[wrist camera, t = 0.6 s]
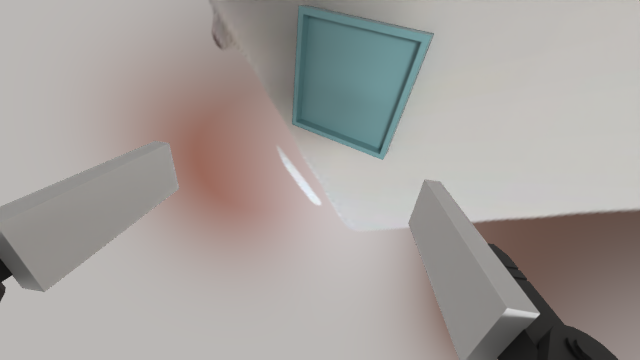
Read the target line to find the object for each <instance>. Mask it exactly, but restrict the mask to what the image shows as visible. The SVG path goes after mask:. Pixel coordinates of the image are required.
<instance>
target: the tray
mask: <svg viewBox="0 0 640 360" xmlns="http://www.w3.org/2000/svg"><path fill="white" fill-rule="evenodd" d="M433 35H434V33H429V32H425V31H420V30H416V29H411V28H407V27H402V26H398V25H393V24H389V23H384V22H380V21H375V20H371V19H366V18H362V17H357V16H353V15H348V14H344V13H339V12H335V11H330V10H326V9H321V8H317V7H312V6H299V10H298V28H297V46H296V64H295V82H294V101H293V119H292V124H293V125H295V126H298V127H301V128H303V129H306V130H308V131H311V132H313V133H316V134H318V135H321V136H323V137H326V138H329V139H331V140H334V141H336V142H339V143H341V144H344V145H346V146H349V147H351V148H354V149H357V150H359V151H362V152H364V153H367V154H369V155H372V156H374V157H377V158H379V159H382V160H383V159H384V157H385V155H386V153H387V151H388V148H389V146H390V143H391V141H392V138H393V136H394V133H395V131H396V128H397V126H398V123H399V121H400V118H401V116H402V113H403V111H404V108H405V106H406V103H407V101H408V98H409V96H410V93H411V91H412V88H413V85H414V83H415V80H416V78H417V75H418V73H419V70H420V68H421V65H422V63H423V60H424V58H425V55H426V53H427V50H428V48H429V45H430V43H431V40H432V38H433Z"/></svg>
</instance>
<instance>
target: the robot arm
mask: <svg viewBox="0 0 640 360" xmlns="http://www.w3.org/2000/svg"><path fill="white" fill-rule="evenodd" d="M178 189H179V186H178V182H177V177H176V172H175V168H174V163H173V159H172V154H171V149H170V145H169V143H165V142H158V141H154V142H152V143H150V144H147V145H145V146H142V147H140V148H138V149H135V150H133V151H130V152H128V153H126V154H123V155H121V156H119V157H116V158H114V159H112V160H110V161H107V162H105V163H102V164H100V165H98V166H95V167H93V168H91V169H88V170H86V171H83V172H81V173H79V174H76V175H74V176H72V177H70V178H67V179H65V180H62V181H60V182H57V183H55V184H53V185H51V186H48V187H46V188H44V189H41V190H39V191H36V192H34V193H32V194H29V195H27V196H25V197H22V198H20V199H18V200H15V201H13V202H11V203H8V204H6V205H3V206H1V207H0V301H1V299H2V297H3V295H4V293H5V286H4V285H3V284H2V283H1V282H2V281H4V280H5V279H7V278H8V277H10V276H12V275H13V277H14V278H15V279H16V281H17V282H18V283H19V284H20V286H21V287H22V288H25V289H31V290H37V291H43V292H45V291H46V290H48V289H49V288H50V287H52V286H53V285H54V284H55V283H57V282H58V281H59V280H61V279H62V278H63V277H65V276H66V275H67V274H69V273H70V272H71V271H72V270H74V269H75V268H76V267H78V266H79V265H80V264H81V263H83V262H84V261H85V260H87V259H88V258H89V257H91V256H92V255H93V254H95V253H96V252H97V251H99V250H100V249H101V248H102V247H104V246H105V245H106V244H107V243H109V242H110V241H112V240H113V239H114V238H115V237H117V236H118V235H119V234H120V233H122V232H123V231H125V230H126V229H127V228H128V227H130V226H131V225H132V224H134V223H135V222H136V221H138V220H139V219H140V218H141V217H143V216H144V215H145V214H147V213H148V212H149V211H150V210H152V209H153V208H154V207H156V206H157V205H158V204H160V203H161V202H162V201H164V200H165V199H166V198H168V197H169V196H170V195H171V194H173V193H174V192H175V191H176V190H178ZM408 224H409V226H410V229H411V232H412V234H413V237H414V240H415V242H416V245H417V248H418V250H419V253H420V256H421V258H422V261H423V264H424V267H425V269H426V272H427V274H428V277H429V280H430V283H431V285H432V288H433V291H434V293H435V296H436V299H437V302H438V304H439V307H440V310H441V312H442V315H443V318H444V320H445V323H446V326H447V328H448V331H449V334H450V336H451V339H452V342H453V344H454V347H455V350H456V353H457V355H458V358H459V360H497V359H498V360H618V359H617V358H616V356H614V355H613V354H612V353H611V352H610V351H609V350H608V349H607V348H606V347H605V346H603V345H602V344H601V343H599V342H598V341H597V340H595V339H594V338H592V337H591V336H589V335H588V334H586V333H584V332H582V331H580V330H578V329H576V328H574V327H570V326H566V325H564V323H563V322H562V321H561V320H560V319H559V318H558V316H557V315H556V314H555V312H554V311H553V310H552V309H551V308H550V306H549V305H548V304H547V303H546V302H545V300H544V299H543V298H542V297H541V295H540V294H539V293H538V292H537V290H536V289H535V288H534V287H533V286H532V284H531V283H530V282H529V281H527V278H526V277H525V276H524V275H523V273H522V272H521V271H520V270H518V267H517V266H516V265H515V264H514V262H513V261H512V260H511V259H510V257H509V256H508V255H507V254H505V253H504V252H503V251H502V250H500V249H499V248H498V247H497V246H495V245H494V244H488V243H486V241H485V240H484V239H483V238H482V236H481V235H480V233H479V232H478V231H477V229H476V228H475V227H474V226H473V224H472V223H471V222H470V220H469V219H468V218H467V216H466V215H465V214H464V212H463V211H462V210H461V208H460V207H459V206H458V204H457V203H456V202H455V200H454V199H453V198H452V197H451V195H450V194H449V193H448V191H447V190H446V189H445V187H444V186H443V185H442V183H441V182H438V181H431V180H424V183H423V185H422V188H421V191H420V193H419V196H418V199H417V201H416V204H415V207H414V210H413V212H412V215H411V218H410V220H409V223H408Z"/></svg>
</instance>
